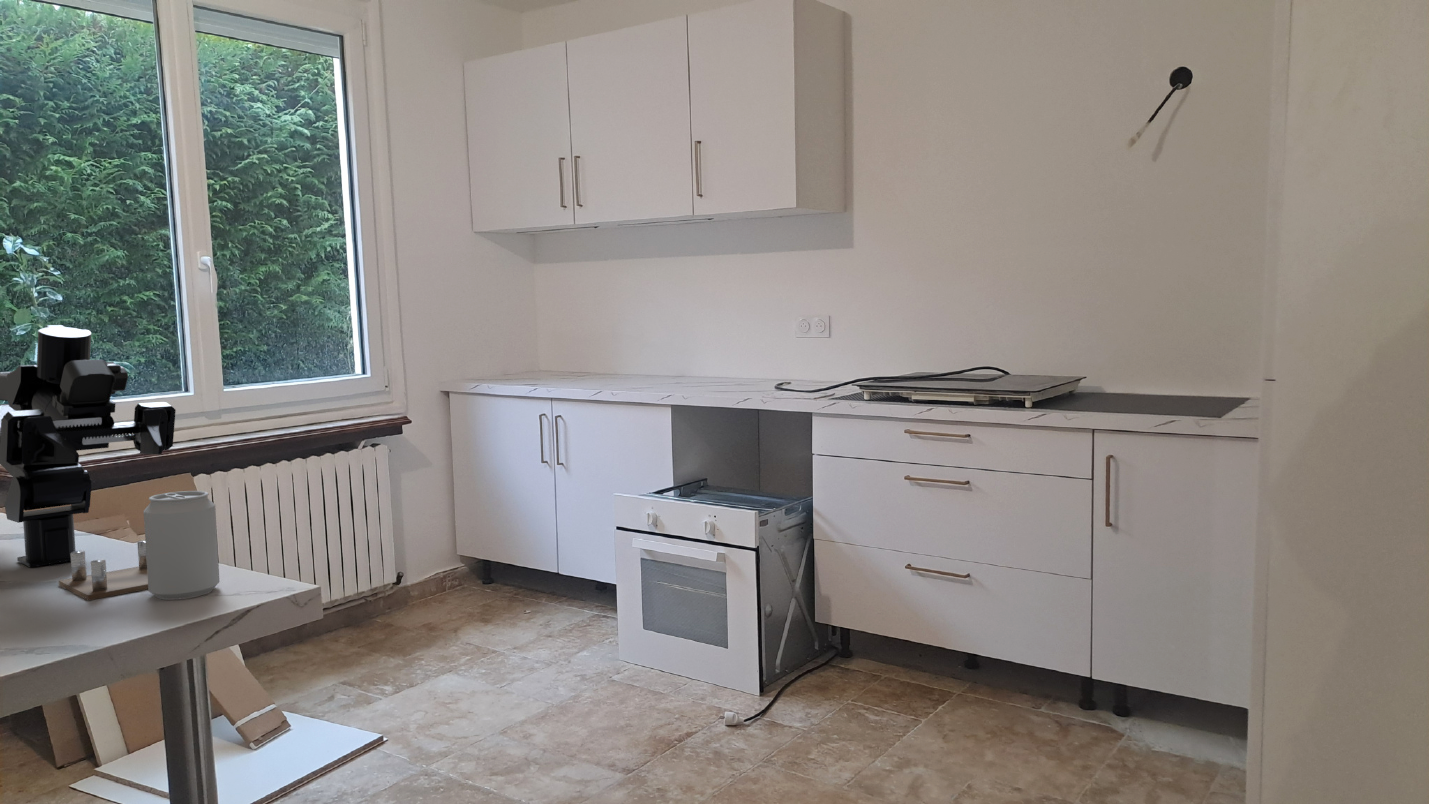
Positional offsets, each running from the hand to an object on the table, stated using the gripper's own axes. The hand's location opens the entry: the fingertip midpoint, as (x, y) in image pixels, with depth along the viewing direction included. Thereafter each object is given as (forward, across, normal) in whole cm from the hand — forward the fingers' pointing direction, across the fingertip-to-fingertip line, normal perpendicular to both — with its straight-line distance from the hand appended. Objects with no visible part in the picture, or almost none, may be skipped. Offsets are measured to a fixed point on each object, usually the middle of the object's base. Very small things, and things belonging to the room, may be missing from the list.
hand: (120, 454), depth 117 cm
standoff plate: (+2, +1, +17) cm, 17 cm away
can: (+12, +3, +14) cm, 19 cm away
